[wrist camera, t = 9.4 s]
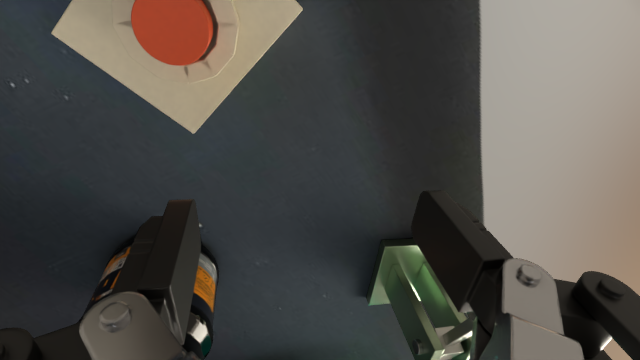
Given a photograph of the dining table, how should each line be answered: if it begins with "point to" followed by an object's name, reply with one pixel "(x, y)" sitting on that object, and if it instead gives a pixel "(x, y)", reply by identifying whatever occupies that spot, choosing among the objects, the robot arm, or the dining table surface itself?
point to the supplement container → (201, 305)
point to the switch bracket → (414, 298)
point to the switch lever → (455, 336)
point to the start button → (172, 29)
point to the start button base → (170, 80)
